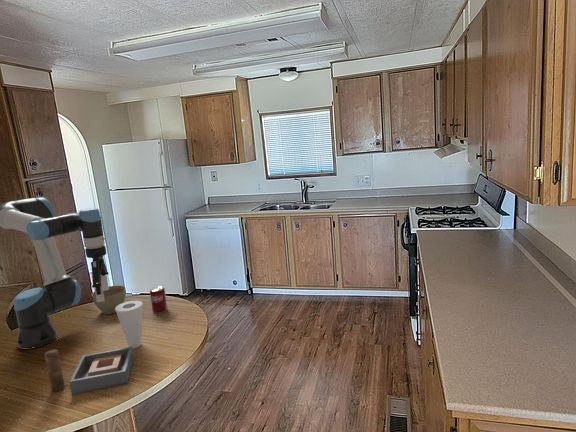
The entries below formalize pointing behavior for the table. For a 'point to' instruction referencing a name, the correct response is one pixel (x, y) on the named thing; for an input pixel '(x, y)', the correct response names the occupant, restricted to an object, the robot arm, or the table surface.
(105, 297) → the planter bowl
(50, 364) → the peg
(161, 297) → the soda can
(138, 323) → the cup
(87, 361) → the box
